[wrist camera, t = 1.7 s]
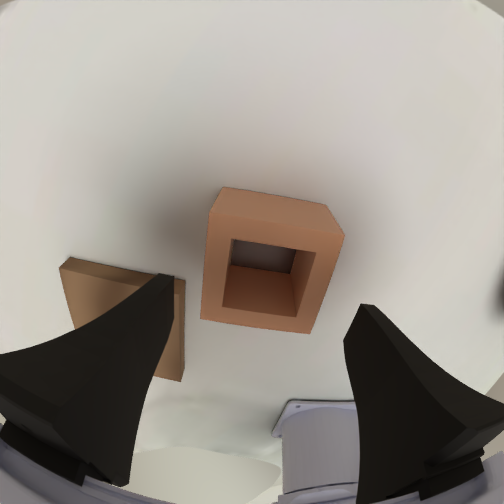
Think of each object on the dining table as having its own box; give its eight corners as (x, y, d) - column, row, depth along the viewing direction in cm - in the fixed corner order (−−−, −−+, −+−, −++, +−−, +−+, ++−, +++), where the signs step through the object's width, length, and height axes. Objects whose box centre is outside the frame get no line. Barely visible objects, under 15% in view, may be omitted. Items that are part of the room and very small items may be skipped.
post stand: (185, 280, 17) (159, 342, 12) (184, 368, 22) (170, 423, 17) (69, 257, 17) (25, 301, 12) (90, 343, 21) (65, 388, 16)
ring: (326, 205, 15) (345, 235, 11) (302, 289, 17) (309, 334, 14) (223, 186, 15) (209, 211, 11) (212, 275, 17) (200, 318, 14)
